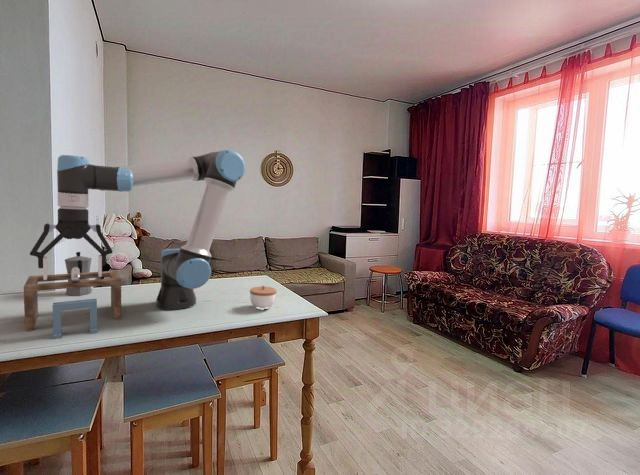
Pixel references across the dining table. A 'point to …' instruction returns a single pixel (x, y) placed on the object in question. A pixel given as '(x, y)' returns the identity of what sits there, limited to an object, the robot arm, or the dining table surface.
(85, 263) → the coffeepot
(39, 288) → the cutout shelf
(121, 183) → the robot arm
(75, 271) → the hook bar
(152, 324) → the dining table surface
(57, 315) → the blue square arch
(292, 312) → the dining table surface
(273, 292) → the lidded jar
